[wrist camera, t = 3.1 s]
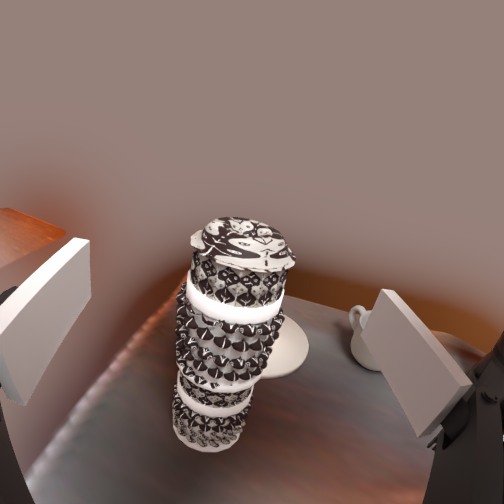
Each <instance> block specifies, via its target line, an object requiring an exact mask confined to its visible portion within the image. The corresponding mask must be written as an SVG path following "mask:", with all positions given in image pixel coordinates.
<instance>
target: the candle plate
mask: <svg viewBox="0 0 504 504" xmlns="http://www.w3.org/2000/svg"><path fill="white" fill-rule="evenodd" d="M283 315H284V314H283ZM284 316H285V320H284V322H283V323H282V326H281V328H280V329H279V330H278V332H279V338H278V339H276V340H275V343H274V344H273V345H272V346H271V347H272V353H271V354H270V355H269V358H268V360H267V367H266V368H265V369H263V371H262V374H261V377H260V379H275V378H280V377H284V376H286V375H289V374H291V373H293V372H295V371H296V370H297V369H299V368H300V366H301V365H302V364H303V362H304V361H305V358H306V356H307V353H308V349H309V344H308V340H307V337H306V335H305V333H304V332H303V330H302V329H301V328H300V327H299V325H297V324H296V323H295V322H294V321H293V320H292V319H290V318H289V317H287V316H286V315H284ZM273 318H274V317H273ZM275 318H276V317H275ZM275 318H274V319H275ZM270 335H271V336H272V333H271V334H270ZM267 336H268V335H267ZM264 351H265V348H264Z"/></svg>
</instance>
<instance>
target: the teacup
mask: <svg viewBox="0 0 504 504" xmlns="http://www.w3.org/2000/svg"><path fill="white" fill-rule="evenodd" d="M356 311H359V313H360V315H361V316H360V318H359V322H358V324H357V322H356V318H355V313H356ZM371 312H372V310H371V311H366V310H365V308H364V307H362V306H359V305H358V306H355V307H353V308H352V309H351V310H350V312H349V321H350V324H351V327H352V329H353V331H354V334H353V337H352V340H351V351H352V354H353V356H354V357H355V359H356V360H357V361H358V362H359V363H360V364H361V365H362V366H363V367H365V368H367V369H369V370H373V371H381V370H380V368H379V366H378V365H377V363H376V361H375V359H374V358H373V356H372V354H371V353H370V351H369V349H368V347H367V346H366V344H365V342H364V341H363V339H362V337H361V336H360V335H361V333H362V331H363V329H364V327H365V325H366V322H367V320H368V318H369V316H370V314H371Z"/></svg>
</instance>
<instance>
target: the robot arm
mask: <svg viewBox="0 0 504 504" xmlns="http://www.w3.org/2000/svg"><path fill="white" fill-rule="evenodd" d="M90 298H91V284H90V241H89V240H85V239H79V238H73V239H72V240H71V241H70V242H69V243H67V244H66V245H65V246H64V247H63V248H61V249H60V250H59V251H58V252H57V253H56V254H54V255H53V256H52V257H51V258H50V259H49V260H48V261H47V262H46V263H44V264H43V265H42V266H41V267H40V268H39V269H38V270H37V271H35V272H34V274H32V275H31V276H30V277H29V278H28V279H27V280H26V281H25V282H24V283H23V284H22V285H21V286H20V287H16V286H14V287H12V288H10V289H8V290H6V291H4V292H3V293H2V294H1V295H0V387H2V389H3V391H4V393H5V395H6V396H7V398H8V399H10V400H12V401H14V402H16V403H19V404H21V405H23V406H25V407H26V405H27V403H28V401H29V399H30V397H31V395H32V393H33V391H34V389H35V388H36V386H37V384H38V382H39V380H40V378H41V377H42V375H43V373H44V371H45V369H46V368H47V366H48V364H49V362H50V361H51V359H52V357H53V356H54V354H55V352H56V350H57V349H58V347H59V346H60V344H61V342H62V341H63V339H64V338H65V336H66V334H67V333H68V331H69V330H70V328H71V326H72V325H73V323H74V322H75V320H76V319H77V317H78V316H79V314H80V313H81V311H82V310H83V308H84V307H85V305H86V304H87V302H88V301H89V299H90ZM360 336H361V337H362V339H363V341H364V342H365V344H366V346H367V347H368V349H369V351H370V353H371V354H372V356H373V358H374V359H375V361H376V363H377V365H378V366H379V368H380V370H381V371H382V373H383V375H384V377H385V378H386V380H387V382H388V384H389V386H390V387H391V389H392V391H393V393H394V395H395V396H396V398H397V400H398V402H399V404H400V405H401V407H402V409H403V411H404V413H405V415H406V416H407V418H408V420H409V422H410V424H411V426H412V428H413V430H414V432H415V433H416V435H417V437H421V436H425V435H429V434H431V433H432V432H433V431H434V430H435V429H436V428H437V427H438V426H439V425H440V424H441V425H442V427H443V429H442V430H441V431H440V433H439V434H438V435H437V436H436V437H435V438H434V439H433V440H432V441H431V442H430V443H429V444H428V446H427V448H430V447H431V446H432V445H433V444H434V443H437V444H436V445H435V446H434V447H433V448H432V450H435V455H434V460H433V465H432V469H431V473H430V478H429V482H428V486H427V489H426V493H425V497H424V500H423V503H422V504H504V442H503V435H504V331H503V333H502V334H501V336H500V338H499V339H498V341H497V343H496V344H495V346H494V348H493V349H492V350H491V351H490V352H489V353H488V354H487V355H486V356H484V357H483V358H482V359H481V360H480V361H479V362H477V363H476V364H475V365H474V366H473V367H472V369H471V370H470V372H469V373H468V375H467V376H466V374H465V373H464V372H463V370H462V369H461V368H460V367H459V365H458V364H457V363H456V362H455V360H454V359H453V358H452V357H451V356H450V354H449V353H448V352H447V351H446V349H445V348H444V347H443V346H442V345H441V343H440V342H439V341H438V340H437V339H436V338H435V336H434V335H433V334H432V333H431V332H430V331H429V329H428V328H427V327H426V326H425V325H424V324H423V323H422V322H421V320H420V319H419V318H418V317H417V316H416V315H415V313H414V312H413V311H412V310H411V309H410V308H409V307H408V306H407V304H406V303H405V302H404V301H403V300H402V299H401V298H400V297H399V296H398V295H397V294H396V292H394V291H393V290H387V289H381V291H380V294H379V296H378V298H377V301H376V303H375V305H374V308H373V310H372V312H371V314H370V316H369V318H368V320H367V322H366V325H365V327H364V329H363V331H362V333H361V335H360ZM0 504H35V503H34V501H33V498H32V496H31V494H30V492H29V490H28V487H27V485H26V482H25V480H24V478H23V475H22V473H21V470H20V468H19V465H18V462H17V459H16V456H15V453H14V450H13V447H12V444H11V441H10V438H9V434H8V431H7V427H6V424H5V420H4V416H3V412H2V407H1V403H0Z"/></svg>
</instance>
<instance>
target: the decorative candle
mask: <svg viewBox="0 0 504 504" xmlns="http://www.w3.org/2000/svg"><path fill="white" fill-rule="evenodd" d="M191 245H192V246H193V247H194V252H193V256H192V267H191V269H190V270H189V271H188V277H187V282H185V283H183V284H182V286H181V292H179V293H178V294H177V296H176V300H177V302H178V303H179V304H178V305H177V312H178V314H177V316H176V322H177V323H178V324H179V325H178V326H177V327H176V328H175V333H176V335H177V336H179V337H177V338H176V340H175V343H176V347H175V350H176V353H177V357H176V363H177V365H178V367H179V369H180V370H179V371H178V377H177V383H175V384H174V386H173V388H174V391H175V393H174V394H173V398H174V401H173V404H172V407H173V410H172V415H173V429H174V431H175V433H176V435H177V437H178V438H179V439H180V440H181V441H182V442H183V443H184V444H186V445H187V446H188V447H190V448H193V449H195V450H198V451H201V452H219V451H222V450H225V449H228V448H230V447H231V446H232V445H233V444H234V443H235V442H236V441H237V440H238V438H239V435H240V433H241V432H242V428H241V426H244V425H245V421H244V420H243V419H245V418H247V416H248V411H249V410H250V409H251V403H250V402H251V401H252V400H253V395H252V391H253V388H254V384H255V383H256V382H257V381H258V380H259V379H260V377H261V374H262V371H263V369H265V368H266V367H267V360H268V358H269V355H270V354H271V353H272V347H271V346H272V345H273V344H274V343H275V340H276V339H278V338H279V332H278V330H279V329H280V328H281V326H282V323H283V322H284V320H285V316H284V315H283V310H282V308H281V307H280V305H281V302H282V298H283V295H284V289H283V287H284V284H285V281H286V277H287V274H288V270H289V267H291V266H293V265H294V263H295V259H296V257H295V256H294V254H293V253H292V251H291V250H290V249H289V248H288V247H287V243H286V241H285V239H284V237H283V236H282V235H281V233H280V232H279V231H277V230H276V229H274V228H272V227H271V226H269V225H266V224H264V223H261V222H257V221H254V220H250V219H244V218H238V217H224V218H218V219H215V220H214V221H212V222H211V223H209V224H208V225H207V226H206V227H205V228H204V229H203V230H200V231H198V232H196V233H195V234H193V235H192V236H191ZM185 294H186V297H187V301H186V297H185ZM183 302H186V303H183ZM273 317H274V318H275V317H276V318H275V319H274V318H273ZM271 333H272V336H271V335H270V334H271ZM267 335H268V336H267ZM264 348H265V351H264Z"/></svg>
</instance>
